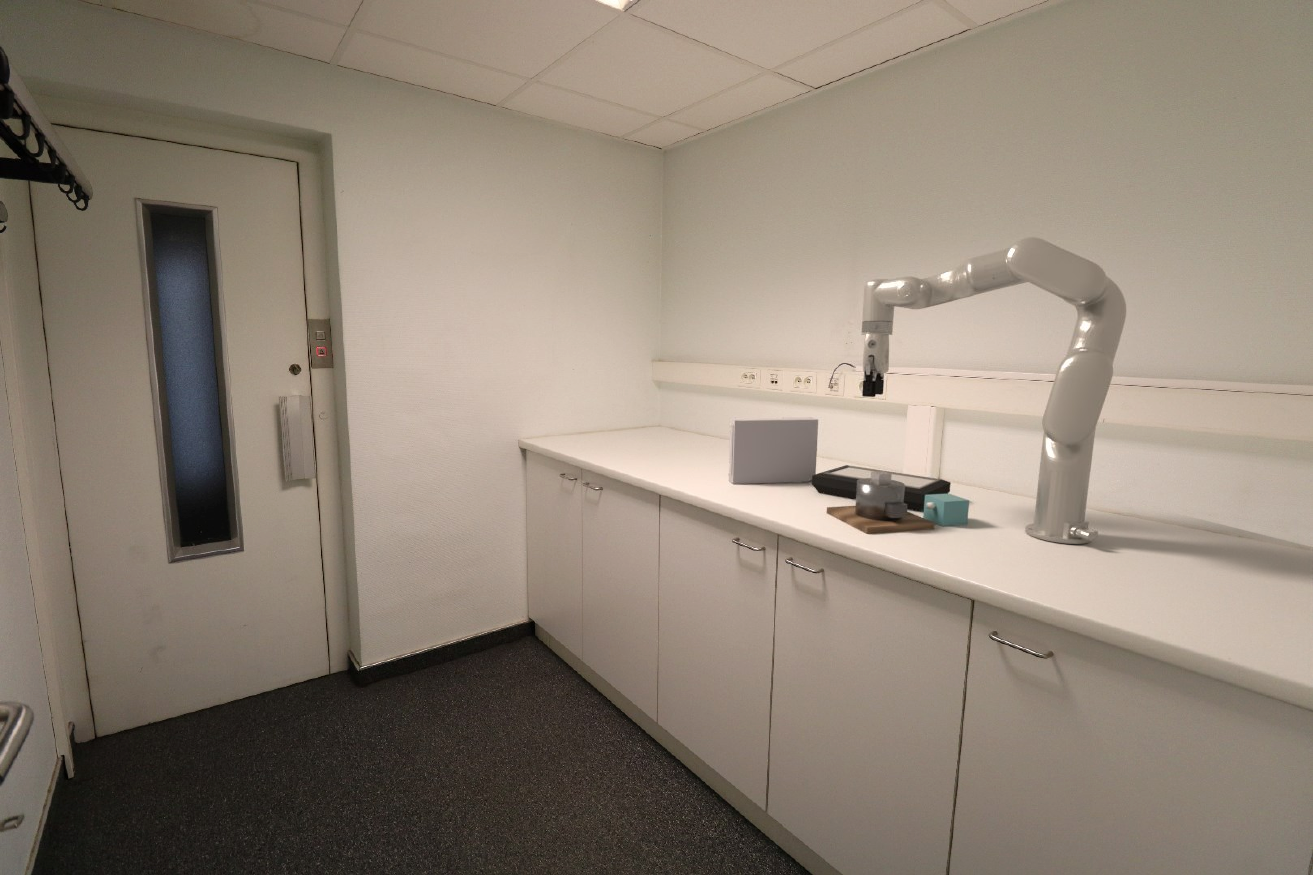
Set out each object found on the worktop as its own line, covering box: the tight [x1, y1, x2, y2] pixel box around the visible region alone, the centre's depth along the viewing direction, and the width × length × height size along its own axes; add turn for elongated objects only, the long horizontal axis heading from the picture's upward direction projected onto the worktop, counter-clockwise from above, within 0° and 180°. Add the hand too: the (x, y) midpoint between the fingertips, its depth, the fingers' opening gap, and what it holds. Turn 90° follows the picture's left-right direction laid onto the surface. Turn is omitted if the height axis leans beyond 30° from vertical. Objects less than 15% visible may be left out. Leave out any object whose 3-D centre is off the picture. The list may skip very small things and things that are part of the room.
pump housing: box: [922, 493, 970, 527], centre depth 151 cm, size 7×9×6 cm
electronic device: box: [811, 464, 952, 513], centre depth 176 cm, size 32×6×20 cm
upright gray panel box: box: [728, 417, 819, 485], centre depth 194 cm, size 6×27×20 cm, turn 100°
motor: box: [854, 470, 908, 521], centre depth 150 cm, size 14×11×10 cm
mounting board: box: [826, 505, 936, 535], centre depth 152 cm, size 18×18×2 cm
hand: (872, 395), depth 161 cm, fingers open, 9 cm apart
